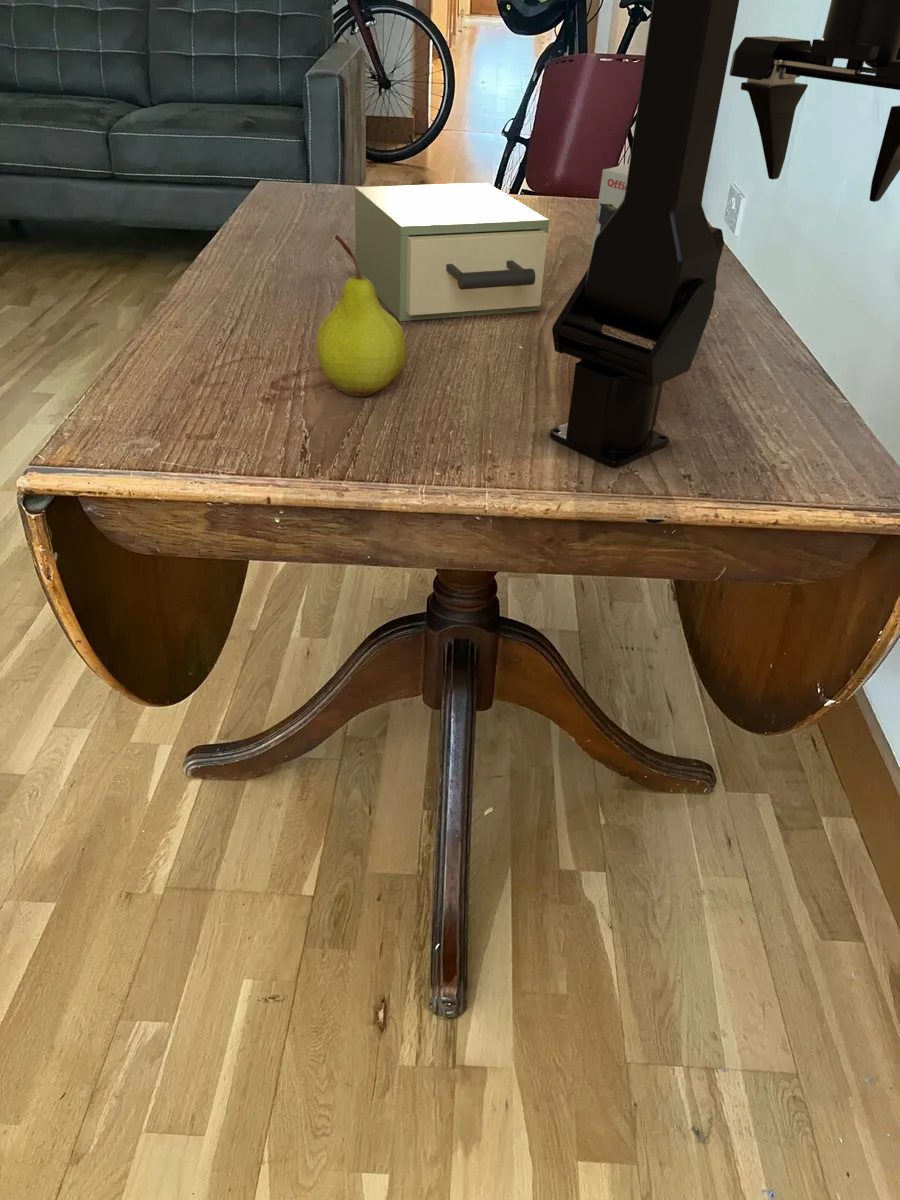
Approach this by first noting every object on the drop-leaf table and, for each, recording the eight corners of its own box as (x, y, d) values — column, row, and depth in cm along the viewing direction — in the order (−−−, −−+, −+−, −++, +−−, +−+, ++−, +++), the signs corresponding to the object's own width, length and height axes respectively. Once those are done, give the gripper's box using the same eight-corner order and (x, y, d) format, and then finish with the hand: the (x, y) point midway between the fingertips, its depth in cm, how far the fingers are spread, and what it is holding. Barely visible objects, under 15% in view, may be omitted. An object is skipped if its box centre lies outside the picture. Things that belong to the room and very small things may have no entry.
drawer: (562, 322, 88) (571, 247, 84) (426, 334, 84) (429, 255, 80) (485, 263, 102) (490, 197, 98) (367, 270, 98) (366, 201, 94)
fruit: (409, 378, 78) (413, 226, 71) (399, 412, 72) (402, 252, 65) (326, 372, 78) (321, 220, 71) (310, 406, 72) (303, 245, 65)
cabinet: (540, 310, 93) (549, 219, 88) (399, 321, 89) (400, 226, 84) (482, 265, 105) (487, 182, 100) (355, 272, 100) (354, 186, 95)
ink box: (583, 286, 100) (599, 166, 93) (611, 277, 103) (628, 161, 96) (650, 307, 96) (671, 183, 89) (677, 297, 98) (699, 177, 92)
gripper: (1057, -28, 68) (976, 202, 77) (823, -42, 79) (776, 160, 88) (994, -33, 61) (913, 218, 70) (749, -48, 72) (706, 171, 81)
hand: (822, 189), depth 77 cm, fingers open, 9 cm apart
